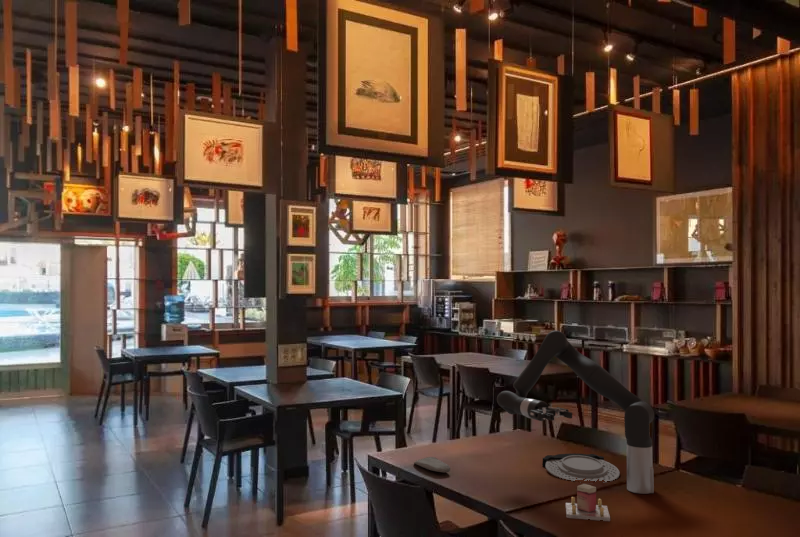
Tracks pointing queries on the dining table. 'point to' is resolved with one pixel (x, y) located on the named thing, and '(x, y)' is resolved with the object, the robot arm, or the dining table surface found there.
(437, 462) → the stone
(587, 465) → the brake disc
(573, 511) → the chassis
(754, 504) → the dining table surface
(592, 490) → the small box
